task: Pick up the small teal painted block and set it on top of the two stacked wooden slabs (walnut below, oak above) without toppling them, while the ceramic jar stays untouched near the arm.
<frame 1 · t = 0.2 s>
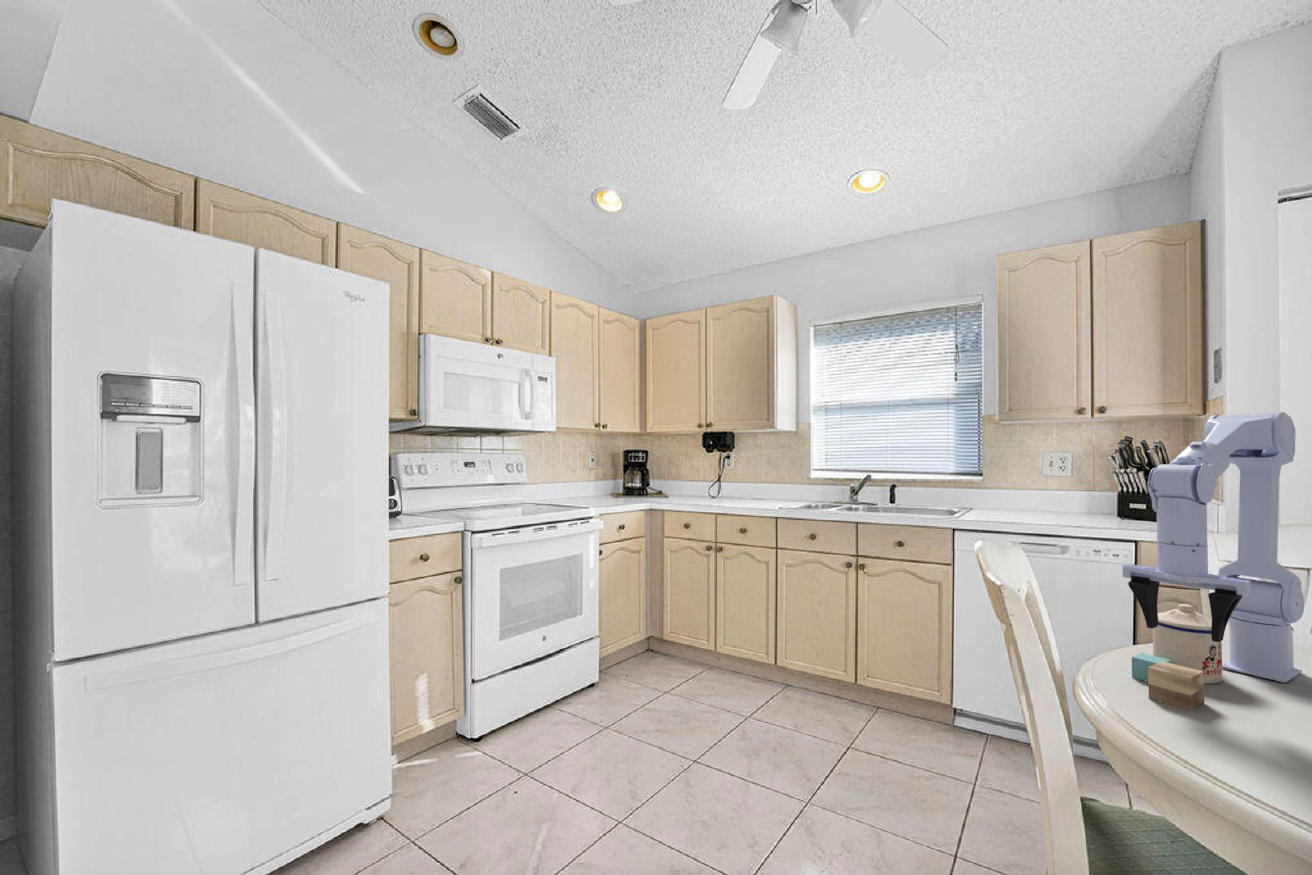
hand: (1183, 633, 89), 10 cm above the table, tool pointing down, fingers open, 7 cm apart
walnut slab lower: (1176, 702, 89), on the table, touching oak slab upper
ceramic jar: (1188, 673, 100), on the table
oak slab upper: (1175, 686, 89), point 2 cm above the table, touching walnut slab lower
teal block: (1151, 679, 97), on the table
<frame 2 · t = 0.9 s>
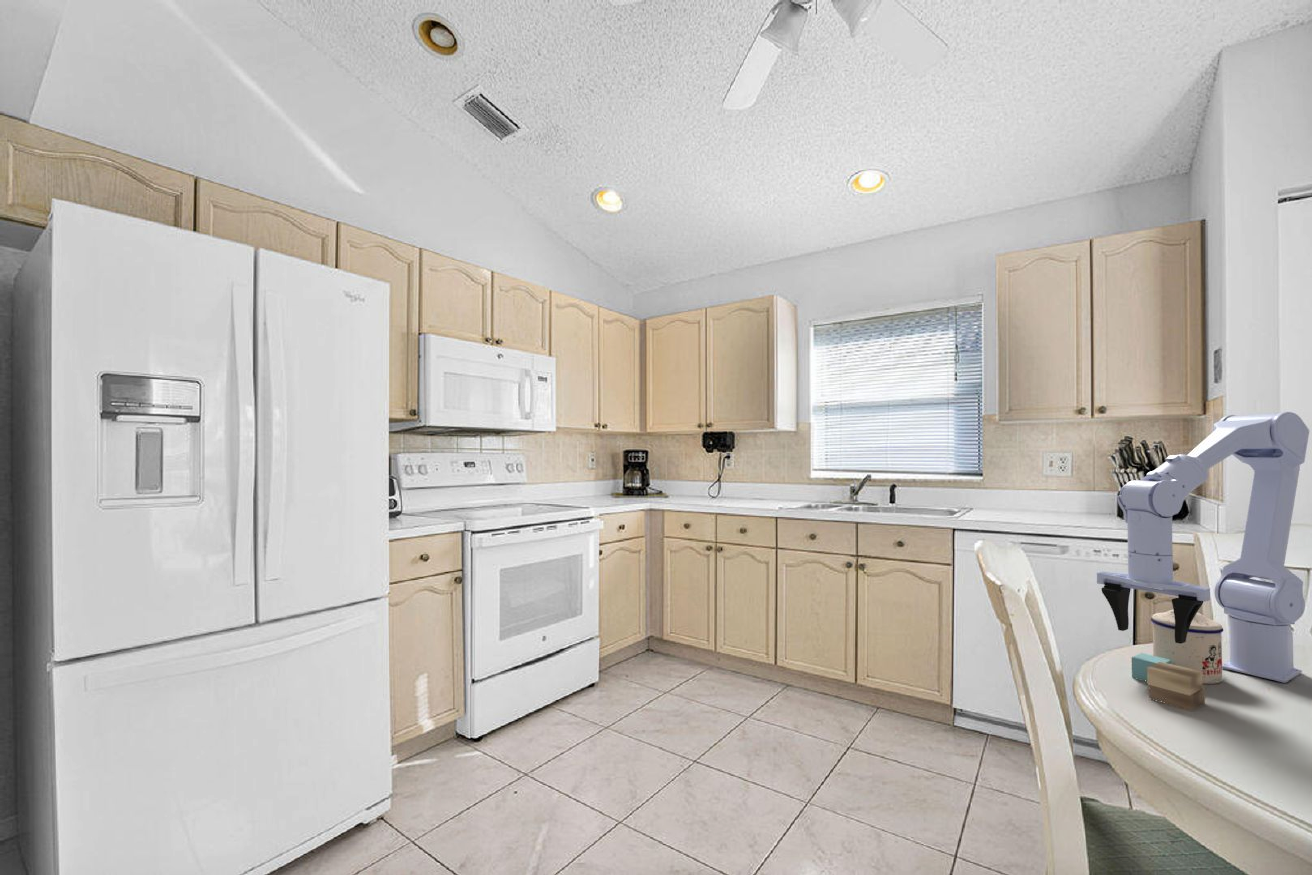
hand: (1150, 635, 97), 7 cm above the table, tool pointing down, fingers open, 7 cm apart
nothing on the table moved.
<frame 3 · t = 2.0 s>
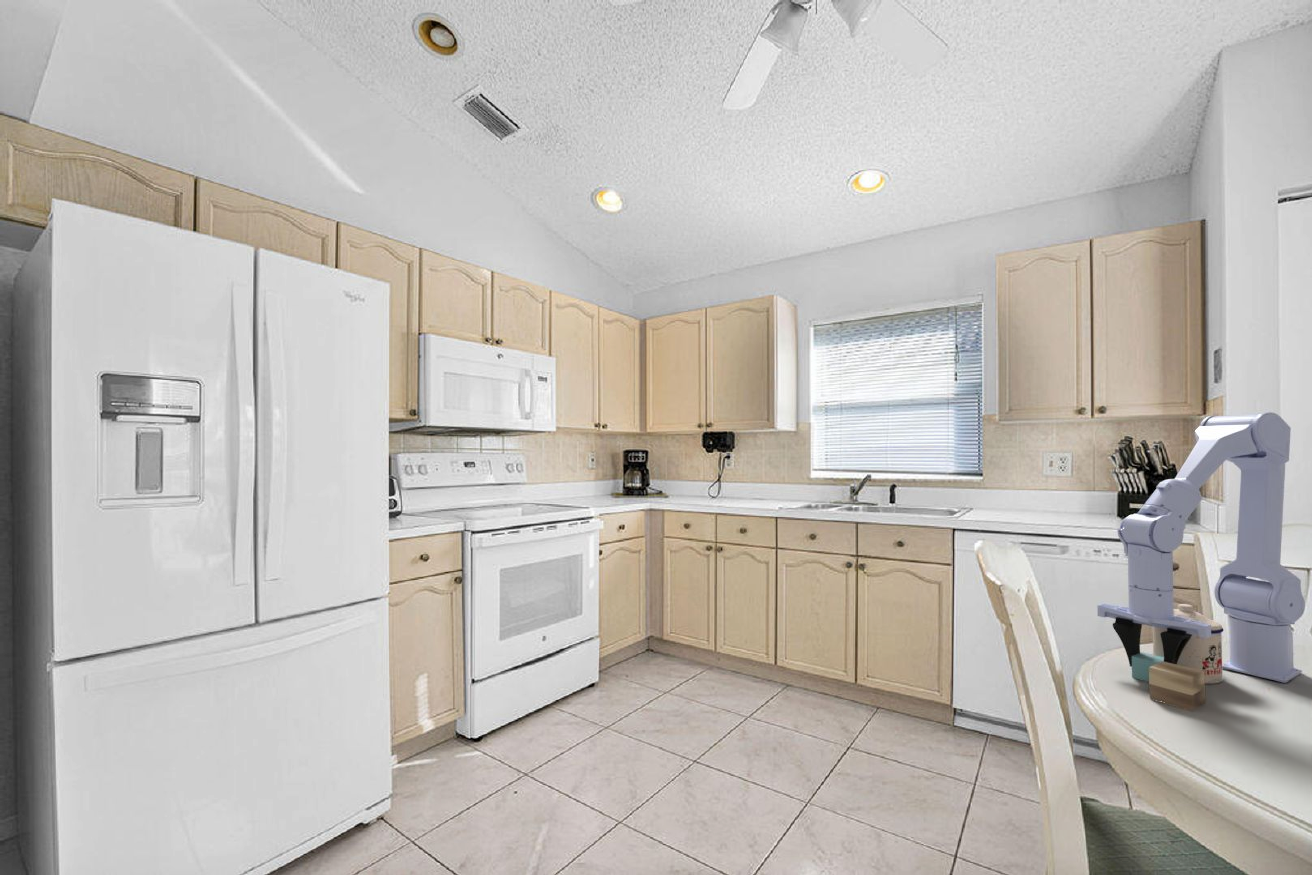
hand: (1151, 670, 97), 1 cm above the table, tool pointing down, fingers closed on teal block, 4 cm apart
walnut slab lower: (1177, 702, 89), on the table
oak slab upper: (1176, 685, 89), point 2 cm above the table
teal block: (1152, 679, 97), on the table, touching gripper
everything else where it was.
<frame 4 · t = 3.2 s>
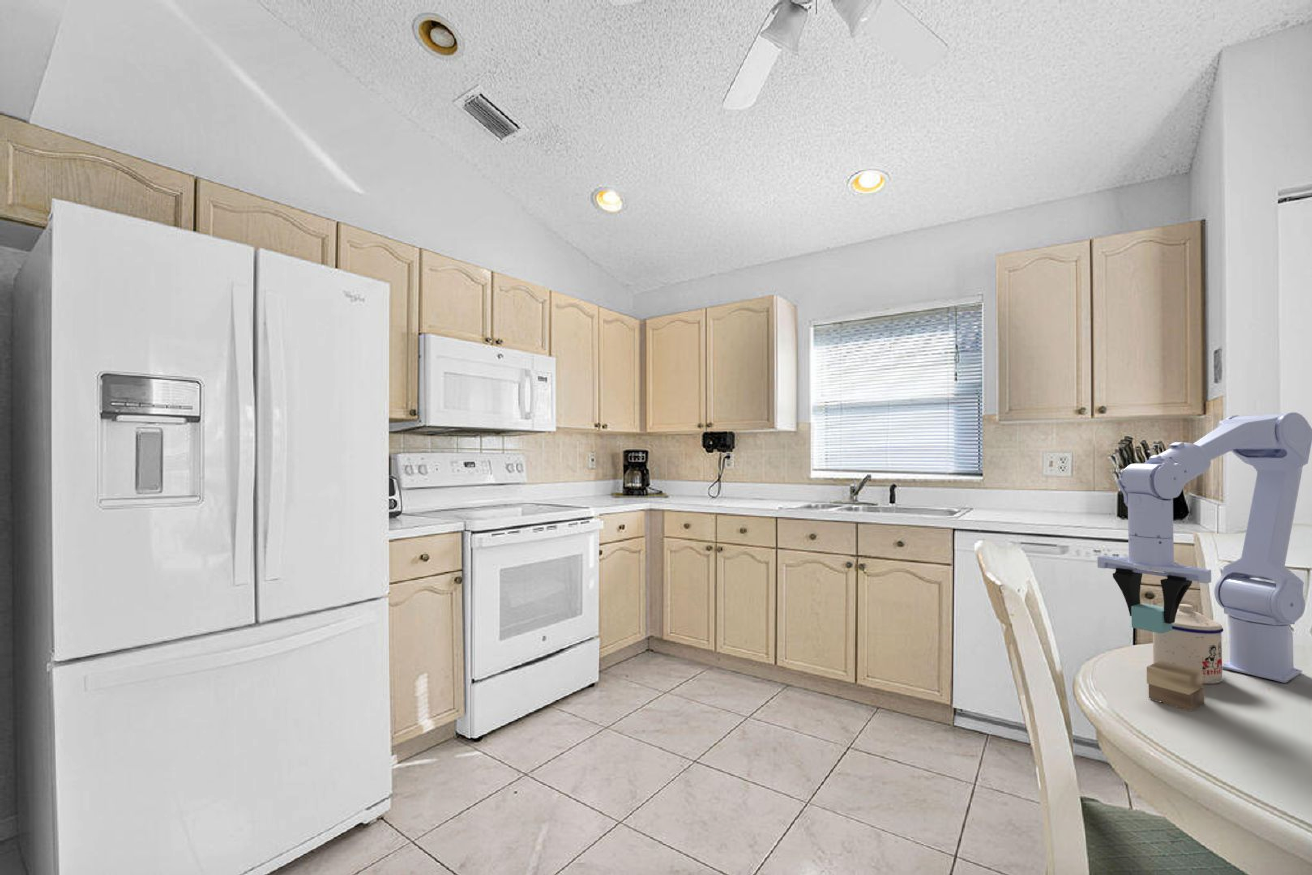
hand: (1151, 619, 97), 10 cm above the table, tool pointing down, fingers closed on teal block, 4 cm apart
teal block: (1151, 628, 97), point 8 cm above the table, touching gripper
everything else where it was.
when the fingers open (8 cm above the table, at t = 4.6 s): teal block drops 1 cm, resting on oak slab upper.
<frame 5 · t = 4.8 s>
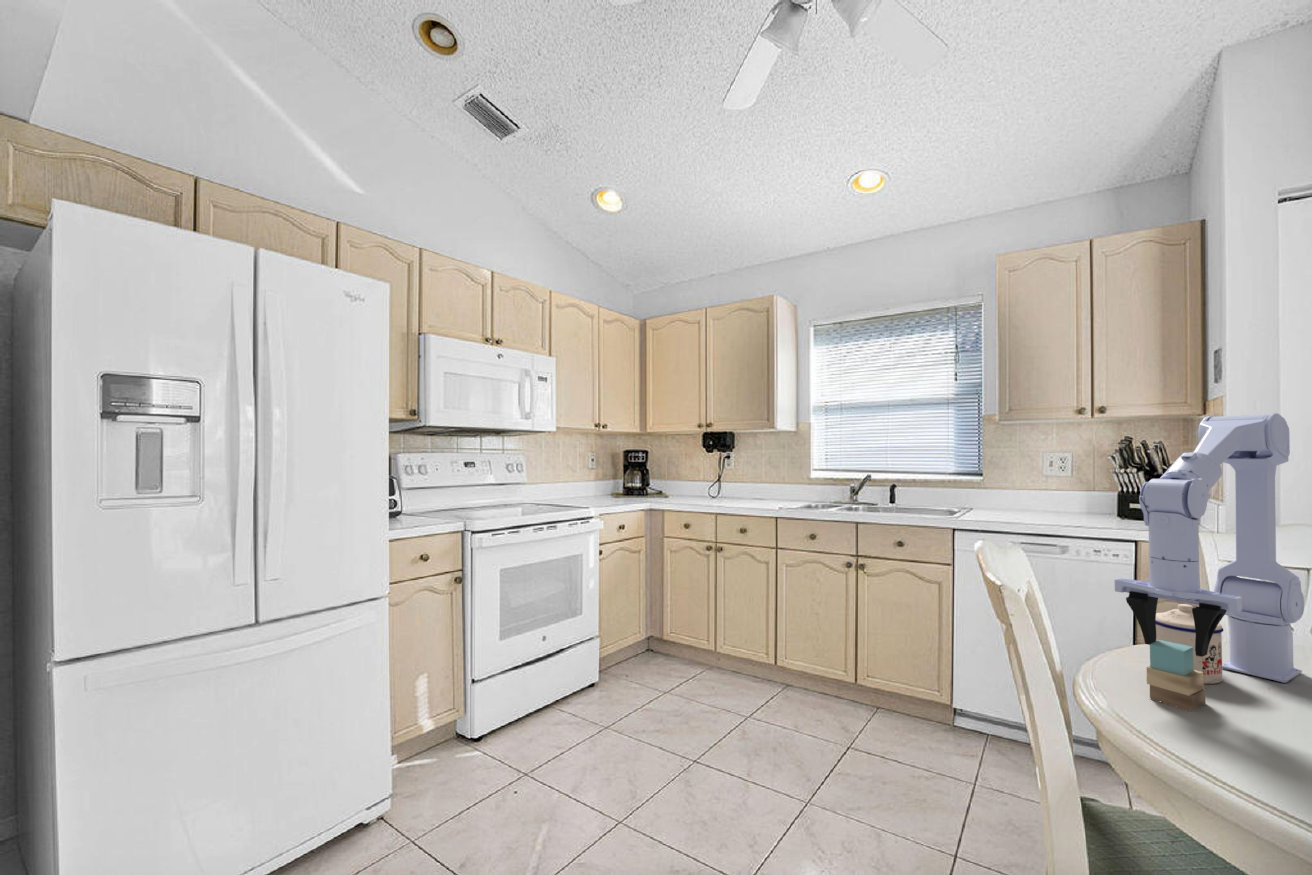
hand: (1175, 649, 89), 8 cm above the table, tool pointing down, fingers open, 5 cm apart
walnut slab lower: (1177, 703, 88), on the table, touching oak slab upper
oak slab upper: (1174, 686, 89), point 2 cm above the table, touching teal block, walnut slab lower
teal block: (1171, 668, 89), point 5 cm above the table, touching oak slab upper
everything else where it was.
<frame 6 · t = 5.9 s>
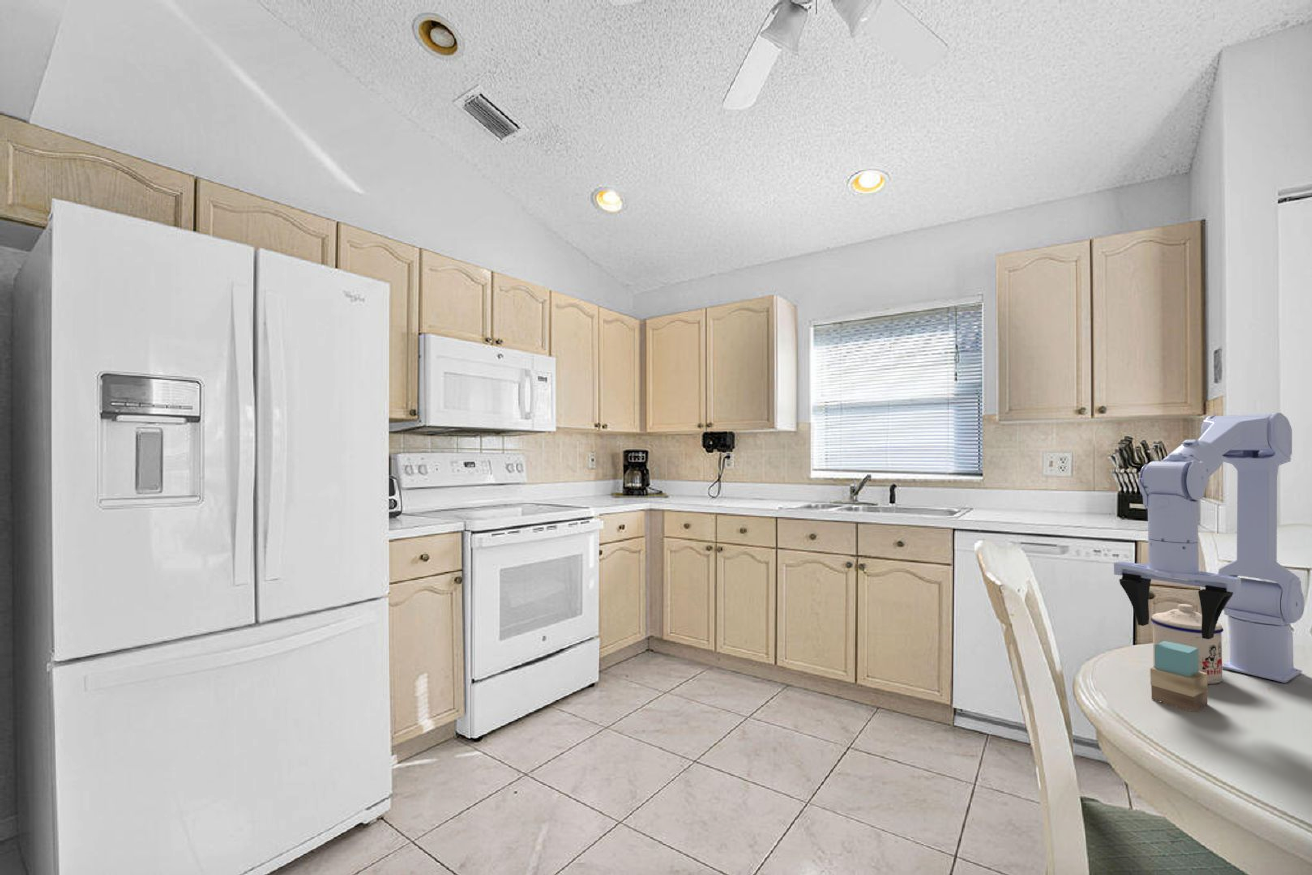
hand: (1174, 630, 89), 10 cm above the table, tool pointing down, fingers open, 7 cm apart
nothing on the table moved.
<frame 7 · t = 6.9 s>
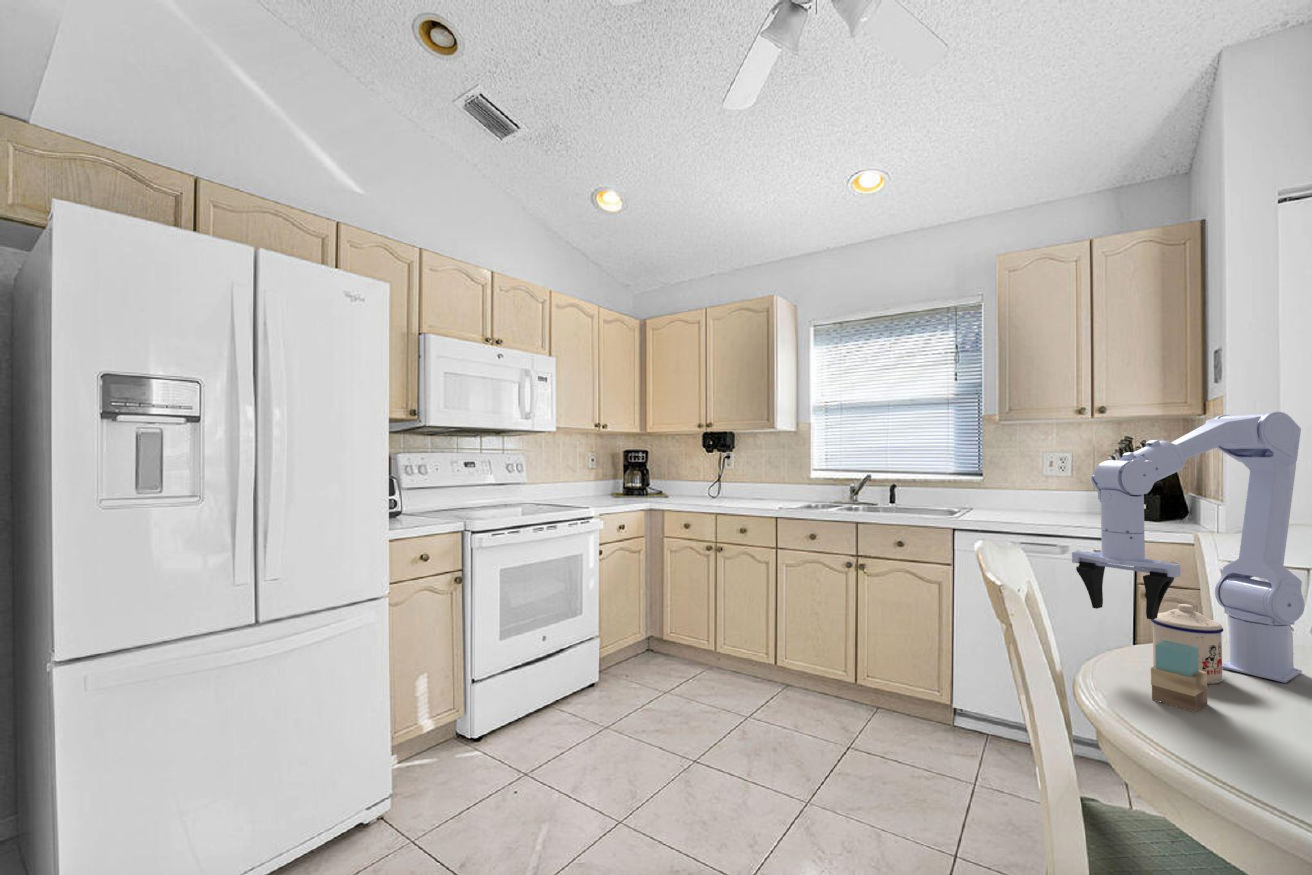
hand: (1123, 612, 99), 10 cm above the table, tool pointing down, fingers open, 7 cm apart
walnut slab lower: (1179, 703, 88), on the table
oak slab upper: (1178, 686, 88), point 2 cm above the table, touching teal block
everything else where it was.
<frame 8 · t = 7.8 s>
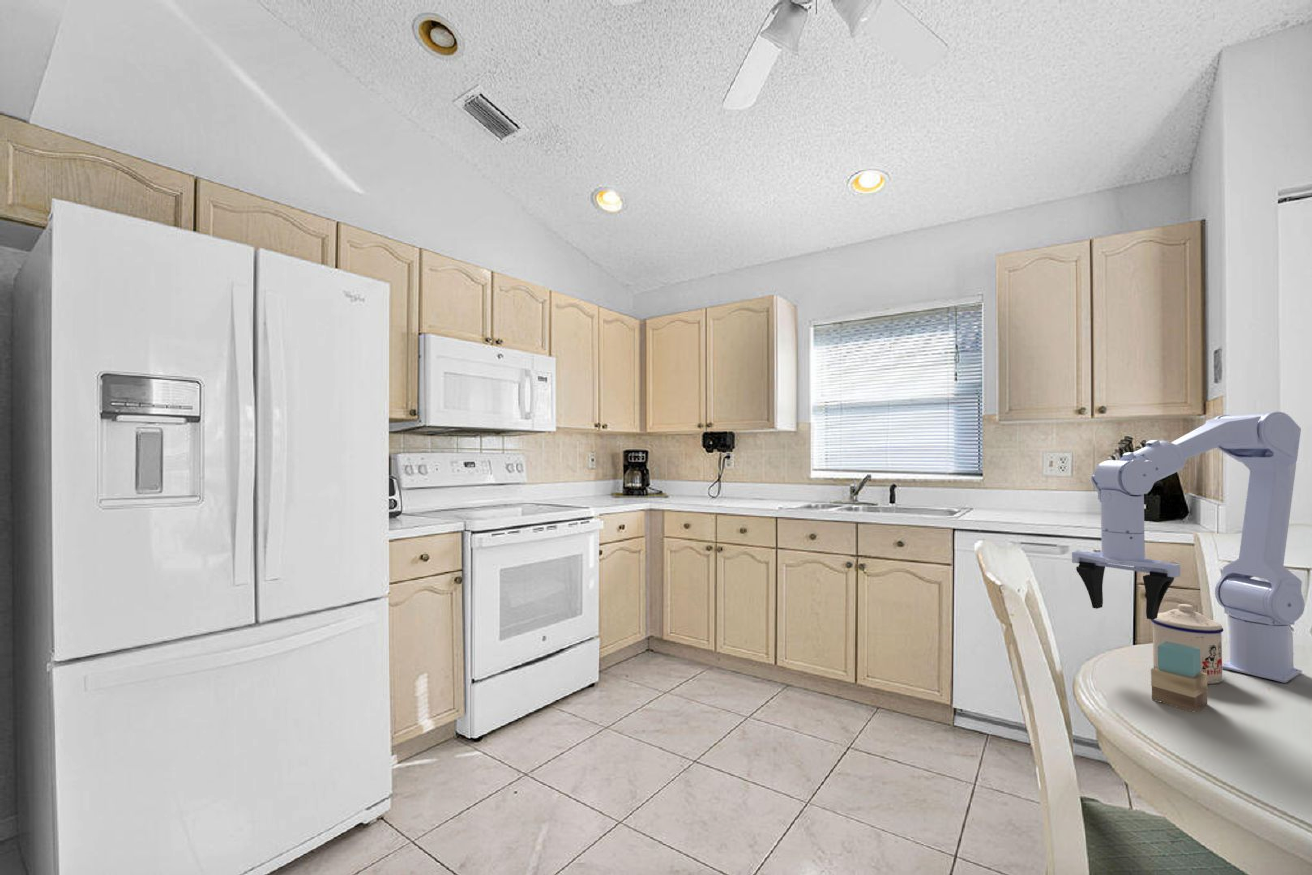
hand: (1123, 612, 99), 10 cm above the table, tool pointing down, fingers open, 7 cm apart
walnut slab lower: (1179, 704, 88), on the table, touching oak slab upper
oak slab upper: (1179, 688, 88), point 2 cm above the table, touching walnut slab lower
teal block: (1179, 670, 88), point 5 cm above the table
everything else where it was.
at the end: teal block 0.3 cm off-centre on the oak slab upper, point 2.5 cm above the oak slab upper's base; oak slab upper tilted 0°; teal block tilted 0° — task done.
